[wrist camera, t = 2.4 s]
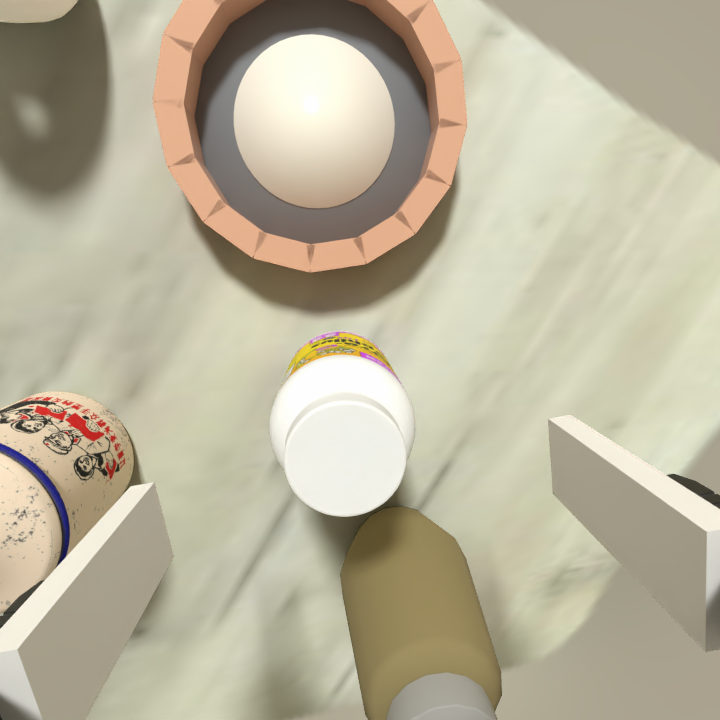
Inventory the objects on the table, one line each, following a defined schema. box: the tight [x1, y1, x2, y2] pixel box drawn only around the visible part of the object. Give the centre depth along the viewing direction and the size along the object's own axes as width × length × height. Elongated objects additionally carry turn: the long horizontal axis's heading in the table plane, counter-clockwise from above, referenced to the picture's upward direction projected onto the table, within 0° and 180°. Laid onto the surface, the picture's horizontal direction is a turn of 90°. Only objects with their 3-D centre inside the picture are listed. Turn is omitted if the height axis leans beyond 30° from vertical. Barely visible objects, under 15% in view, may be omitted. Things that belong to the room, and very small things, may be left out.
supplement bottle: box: [269, 331, 415, 517], centre depth 23 cm, size 7×7×13 cm
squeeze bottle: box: [340, 506, 502, 720], centre depth 24 cm, size 8×8×18 cm
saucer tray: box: [153, 0, 467, 272], centre depth 25 cm, size 16×16×3 cm
